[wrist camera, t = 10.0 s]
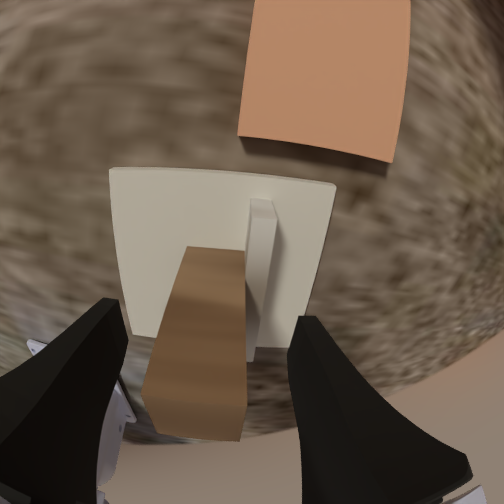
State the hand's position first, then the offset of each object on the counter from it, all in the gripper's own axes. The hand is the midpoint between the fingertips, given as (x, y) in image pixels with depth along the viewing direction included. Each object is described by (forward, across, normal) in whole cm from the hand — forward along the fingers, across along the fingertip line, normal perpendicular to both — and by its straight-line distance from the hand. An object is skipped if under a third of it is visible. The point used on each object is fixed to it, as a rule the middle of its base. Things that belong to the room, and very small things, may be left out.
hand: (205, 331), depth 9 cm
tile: (+4, -1, -10) cm, 11 cm away
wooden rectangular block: (+3, 0, 0) cm, 3 cm away
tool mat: (+4, 0, 0) cm, 4 cm away
